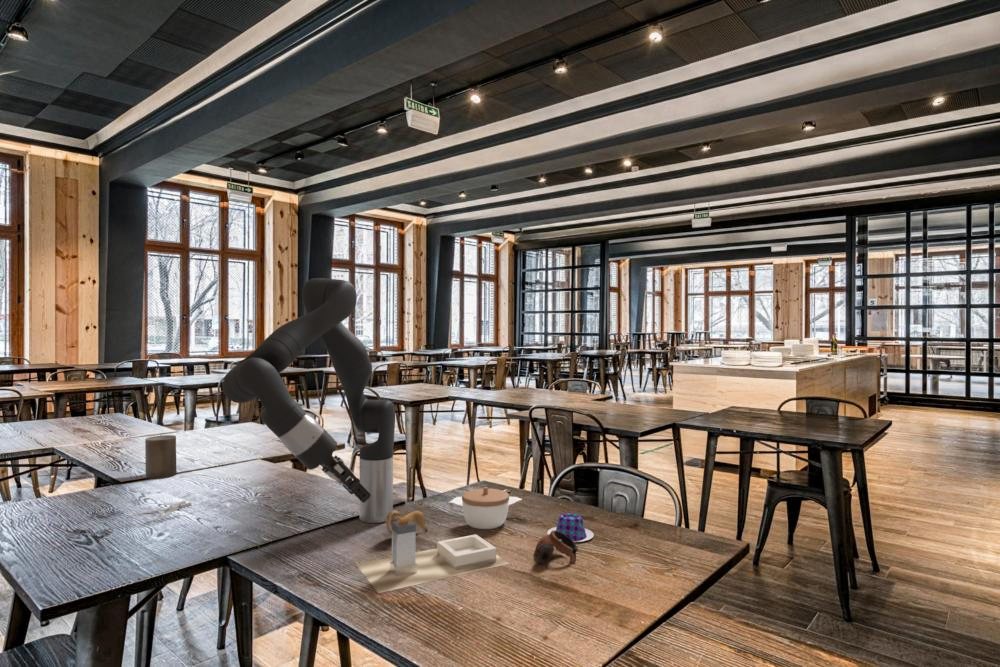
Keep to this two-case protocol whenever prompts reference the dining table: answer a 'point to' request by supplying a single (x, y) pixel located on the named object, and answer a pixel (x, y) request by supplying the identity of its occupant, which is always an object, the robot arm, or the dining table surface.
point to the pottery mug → (552, 539)
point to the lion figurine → (413, 516)
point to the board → (427, 571)
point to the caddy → (466, 551)
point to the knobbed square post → (403, 547)
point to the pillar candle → (160, 456)
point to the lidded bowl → (485, 507)
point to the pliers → (170, 510)
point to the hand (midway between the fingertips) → (361, 494)
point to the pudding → (572, 528)
